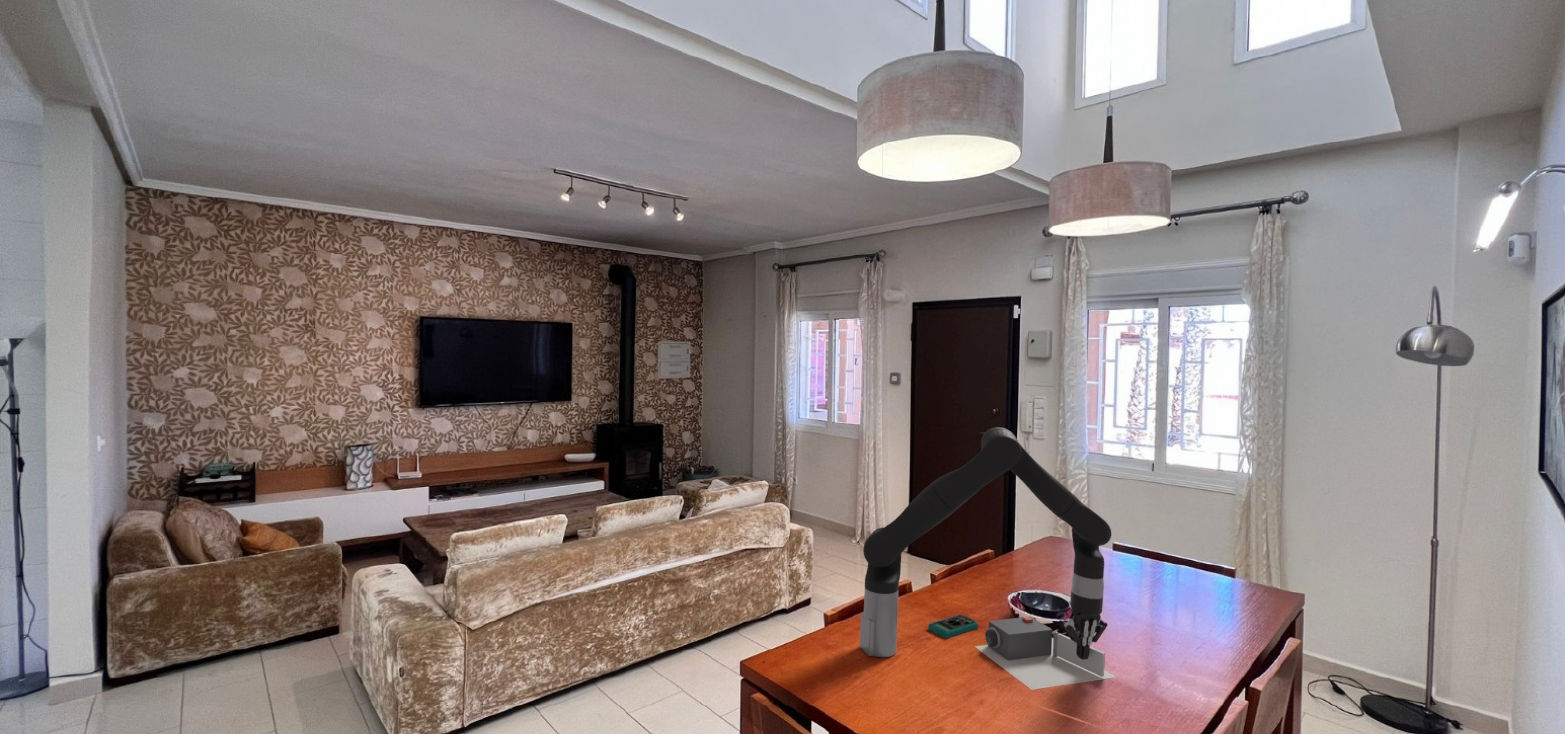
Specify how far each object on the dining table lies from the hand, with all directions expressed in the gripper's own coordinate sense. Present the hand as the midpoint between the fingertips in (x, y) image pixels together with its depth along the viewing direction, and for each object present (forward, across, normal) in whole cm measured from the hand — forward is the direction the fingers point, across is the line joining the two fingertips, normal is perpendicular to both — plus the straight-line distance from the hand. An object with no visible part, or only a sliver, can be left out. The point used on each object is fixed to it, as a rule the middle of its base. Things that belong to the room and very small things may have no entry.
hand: (1082, 657), depth 165 cm
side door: (+4, +2, +4) cm, 6 cm away
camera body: (+4, -7, +15) cm, 18 cm away
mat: (+5, -5, +8) cm, 11 cm away
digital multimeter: (+6, -18, +32) cm, 37 cm away
